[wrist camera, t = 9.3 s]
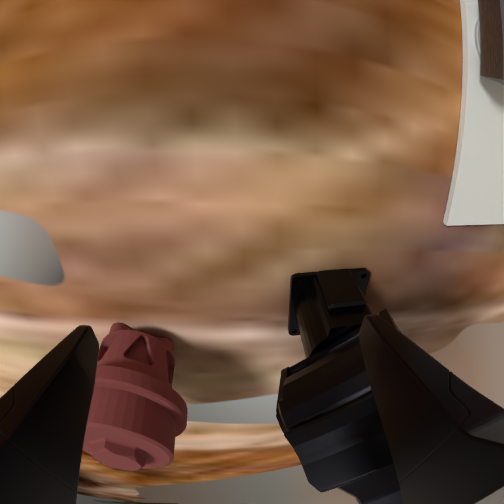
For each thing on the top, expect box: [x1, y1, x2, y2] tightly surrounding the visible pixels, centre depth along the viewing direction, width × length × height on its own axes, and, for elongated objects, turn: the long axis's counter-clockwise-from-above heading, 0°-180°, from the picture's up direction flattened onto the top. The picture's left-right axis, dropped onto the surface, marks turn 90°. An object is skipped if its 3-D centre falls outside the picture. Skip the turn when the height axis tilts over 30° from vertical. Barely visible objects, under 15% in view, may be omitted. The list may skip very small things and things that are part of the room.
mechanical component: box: [83, 323, 187, 471], centre depth 23 cm, size 12×10×10 cm
